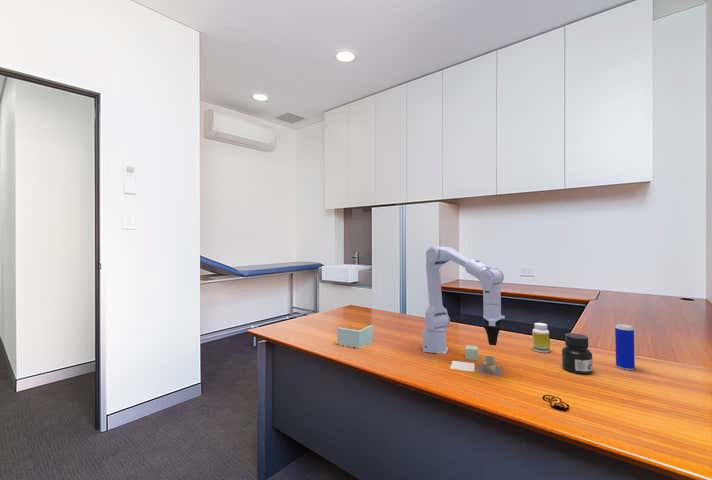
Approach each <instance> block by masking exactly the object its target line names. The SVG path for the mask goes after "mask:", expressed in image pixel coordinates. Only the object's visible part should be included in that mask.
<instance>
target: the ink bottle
mask: <svg viewBox="0 0 712 480" xmlns="http://www.w3.org/2000/svg"><path fill="white" fill-rule="evenodd" d="M564 338H565V339H564V341H565V342H564V344H565V346H564V347H563V348H562V350H561V366H562V369H564V370H566V371H568V372H571V373H574V374H579V375H589V374H592V373H593V353H592V352H591V351H590V350H589V337H588V336H587V335H584V334H582V333H573V332H571V333H570V332H569V333H565V334H564Z"/></svg>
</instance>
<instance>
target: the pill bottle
mask: <svg viewBox="0 0 712 480" xmlns="http://www.w3.org/2000/svg"><path fill="white" fill-rule="evenodd" d="M533 324H534V325H533V327H534V328H533V329H532V332H531V333H532V334H531V335H532V350H533V351H535V352H537V353H544V354H545V353H550V350H551V346H550V345H551V343H550V340H551V339H550V331H549V330H548V324H547V323H544V322H535V323H533Z"/></svg>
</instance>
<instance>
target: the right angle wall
mask: <svg viewBox="0 0 712 480" xmlns="http://www.w3.org/2000/svg"><path fill="white" fill-rule="evenodd" d="M336 339H337V340H336V342H337V343H336V344H337V345H338V344H341V345H340V346H343V345H346V346H345V347H348V346H350V347H349V348H353V347H355V348H354V349H358V348H359V350H360V349H362V348H364V347H366V346H367V344H368V345H369V344H371V343H373V342H374V325H373V324H371V325H369V326H365V327H364V328H362V329H360V330H357V329H356V330H355V329H351V328H346V327H345V328H344V327H340V326H339V327H336ZM365 345H366V346H365ZM363 346H364V347H363ZM361 347H362V348H361Z"/></svg>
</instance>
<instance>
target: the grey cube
mask: <svg viewBox="0 0 712 480" xmlns="http://www.w3.org/2000/svg"><path fill="white" fill-rule="evenodd" d="M482 364H483V371H489V372H496V370H495V366H496V356H491V355H490V356H489V355H482Z"/></svg>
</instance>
